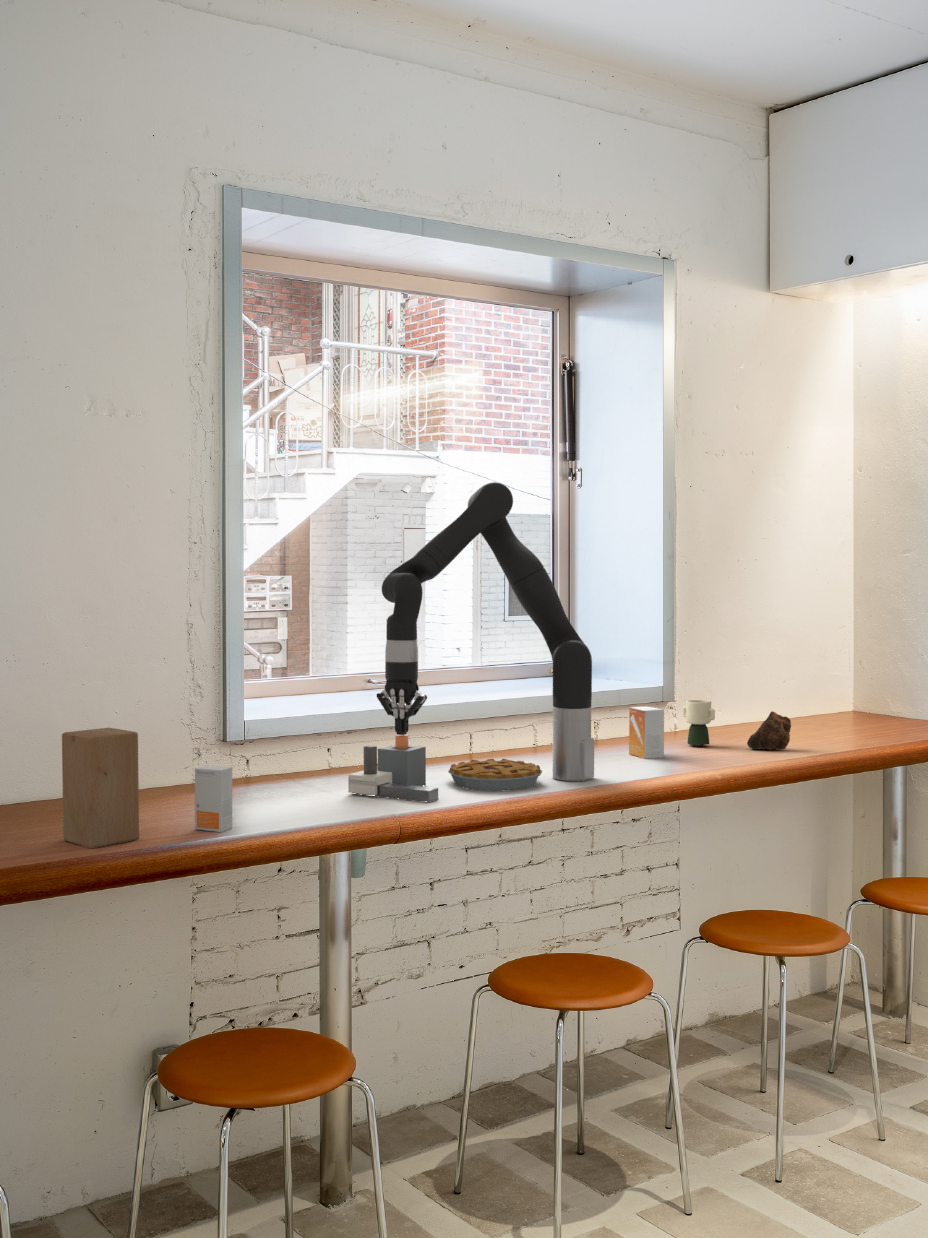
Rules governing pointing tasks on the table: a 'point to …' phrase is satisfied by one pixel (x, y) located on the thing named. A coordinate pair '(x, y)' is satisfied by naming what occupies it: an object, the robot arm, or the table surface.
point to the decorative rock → (771, 733)
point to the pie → (495, 775)
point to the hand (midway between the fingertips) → (401, 734)
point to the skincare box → (213, 798)
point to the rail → (407, 792)
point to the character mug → (698, 720)
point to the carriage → (368, 775)
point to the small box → (646, 732)
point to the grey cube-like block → (404, 764)
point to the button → (401, 742)
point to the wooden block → (100, 787)
